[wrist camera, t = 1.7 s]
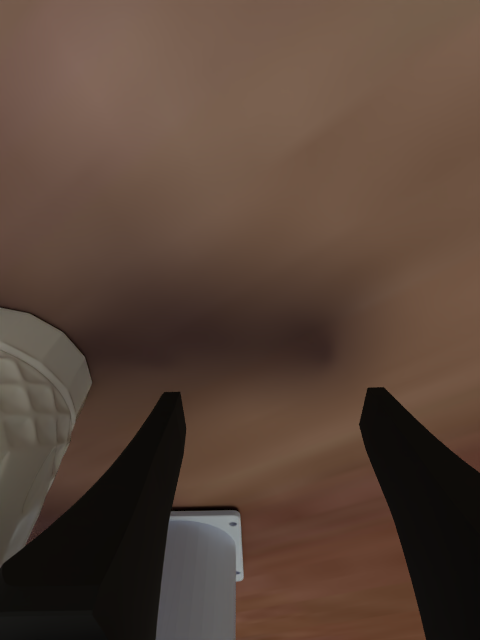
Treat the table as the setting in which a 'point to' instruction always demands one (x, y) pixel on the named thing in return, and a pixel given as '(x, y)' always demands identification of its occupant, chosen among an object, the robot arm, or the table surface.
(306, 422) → the table surface
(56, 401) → the white cup
